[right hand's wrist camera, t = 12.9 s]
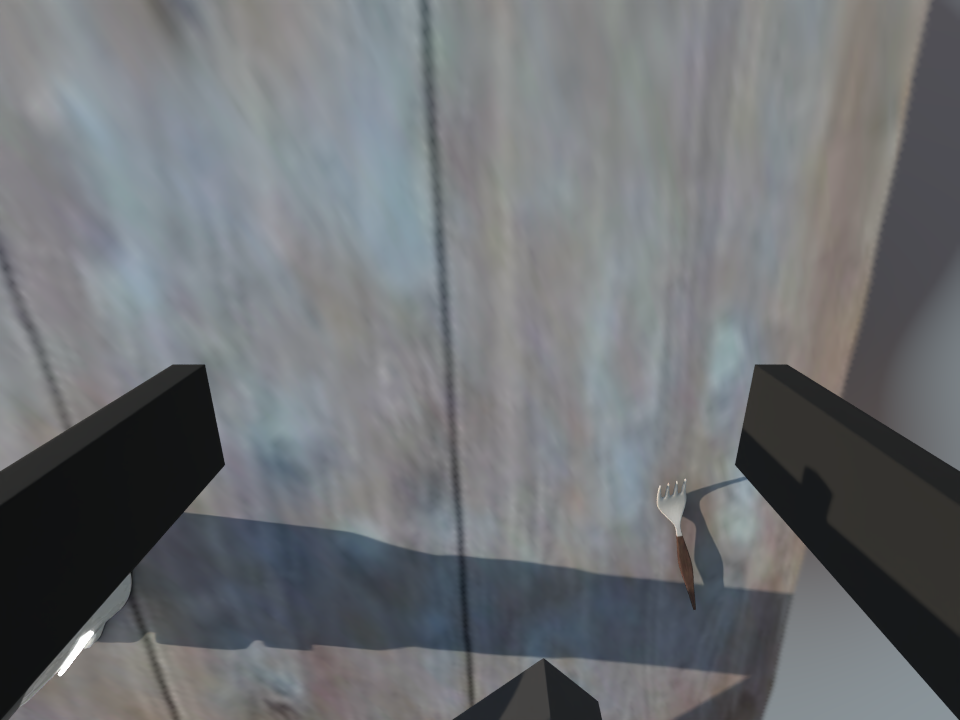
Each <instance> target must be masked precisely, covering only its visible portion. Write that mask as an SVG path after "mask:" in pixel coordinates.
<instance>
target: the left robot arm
mask: <svg viewBox="0 0 960 720" xmlns="http://www.w3.org/2000/svg"><path fill="white" fill-rule="evenodd" d="M131 584H132V579H131V572H130V574H129V575H128V576H127V577H126V578H125V579H124V580H123V582H122V583H121V584H120V585H119V586H118V587H117V588H116V590H115V591H114V592H113V593H112V594H111V595H110V596H109V597H108V599H107V600H106V601H105V602H104V603H103V604H102V605H101V607H100V608H99V609H98V610H97V611H96V612H95V613H94V615H93V616H92V617H91V618H90V619H89V620H88V621H87V623H86V624H85V625H84V626H83V627H82V628H81V629H80V630H79V632H78V633H77V634H76V635H75V636H74V637H73V638H72V640H71V641H70V642H69V643H68V644H67V645H66V646H65V648H64V649H63V650H62V651H61V652H60V653H59V654H58V656H57V657H56V658H55V659H54V660H53V661H52V662H51V664H50V665H49V666H48V667H47V668H46V669H45V670H44V671H43V673H42V674H41V675H40V676H39V677H38V678H37V679H36V681H35V682H34V683H33V684H32V685H31V686H30V687H29V689H28V690H27V691H26V692H25V693H24V694H23V695H22V697H21V698H20V699H19V700H18V701H17V702H16V703H15V704H14V706H13V707H12V708H11V709H10V710H9V711H8V712H7V714H6V715H5V716H4V717H3V718H2V719H1V720H9V719H10V717H11V716H12V715H13V714H14V713H15V712H16V710H17V709H18V708H19V707H20V706H22V705H24V704H25V703H26V702H28V701H29V700H30V699H31V698H32V697H33V696H34V695H35V694H36V693H37V692H38V691H39V690H40V689H41V688H42V687H43V686H44V685H45V684H46V683H47V682H48V681H49V680H50V679H51V678H52V677H53V676H54V675H55V674H56V673H57V672H58V671H59V670H60V669H61V668H62V667H63V666H64V667H63V668H62V669H61V671H60V672H59V674H58V675H60V676H61V675H62V674H63V673H64V672H65V670H66V669H67V668H68V667H69V666H70V664H71V663H72V662H73V660H74V659H75V658H76V656H77V655H78V653H79V652H80V651H81V649H87V648H89V647H91V646H92V645H93V644H94V643H95V642H96V641H97V640H98V639H99V637H100V636H101V634H102V631H103V628H104V625H105V623H106V622H107V621H108V620H109V619H110V618H111V617H113V616H114V615H115V614H116V613H117V612H118V611H120V610H121V608H122V607H123V606H124V605H125V603H126V602H127V600H128V598H129V595H130V592H131Z"/></svg>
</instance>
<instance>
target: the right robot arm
mask: <svg viewBox="0 0 960 720" xmlns="http://www.w3.org/2000/svg"><path fill="white" fill-rule="evenodd" d="M224 465H225V463H224V458H223V453H222V448H221V443H220V438H219V433H218V428H217V423H216V418H215V413H214V408H213V403H212V398H211V393H210V388H209V383H208V378H207V373H206V368H205V365H171V366H170V367H168V368H167V369H165V370H163V371H162V372H160V373H158V374H157V375H155V376H154V377H152V378H150V379H149V380H147V381H145V382H144V383H142V384H141V385H139V386H137V387H136V388H134V389H133V390H131V391H129V392H128V393H126V394H124V395H123V396H121V397H120V398H118V399H116V400H115V401H113V402H112V403H110V404H108V405H107V406H105V407H103V408H102V409H100V410H99V411H97V412H95V413H94V414H92V415H91V416H89V417H87V418H86V419H84V420H82V421H81V422H79V423H78V424H76V425H74V426H73V427H71V428H70V429H68V430H66V431H65V432H63V433H61V434H60V435H58V436H57V437H55V438H53V439H52V440H50V441H49V442H47V443H45V444H44V445H42V446H40V447H39V448H37V449H36V450H34V451H32V452H31V453H29V454H28V455H26V456H24V457H23V458H21V459H19V460H18V461H16V462H15V463H13V464H11V465H10V466H8V467H7V468H5V469H3V470H2V471H0V720H1V719H2V718H3V717H4V716H5V715H6V714H7V712H8V711H9V710H10V709H11V708H12V707H13V706H14V704H15V703H16V702H17V701H18V700H19V699H20V698H21V697H22V695H23V694H24V693H25V692H26V691H27V690H28V689H29V687H30V686H31V685H32V684H33V683H34V682H35V681H36V679H37V678H38V677H39V676H40V675H41V674H42V673H43V671H44V670H45V669H46V668H47V667H48V666H49V665H50V664H51V662H52V661H53V660H54V659H55V658H56V657H57V656H58V654H59V653H60V652H61V651H62V650H63V649H64V648H65V646H66V645H67V644H68V643H69V642H70V641H71V640H72V638H73V637H74V636H75V635H76V634H77V633H78V632H79V630H80V629H81V628H82V627H83V626H84V625H85V624H86V623H87V621H88V620H89V619H90V618H91V617H92V616H93V615H94V613H95V612H96V611H97V610H98V609H99V608H100V607H101V605H102V604H103V603H104V602H105V601H106V600H107V599H108V597H109V596H110V595H111V594H112V593H113V592H114V591H115V590H116V588H117V587H118V586H119V585H120V584H121V583H122V582H123V580H124V579H125V578H126V577H127V576H128V575H129V574H130V572H131V571H132V570H133V569H134V568H135V567H136V566H137V564H138V563H139V562H140V561H141V560H142V559H143V558H144V556H145V555H146V554H147V553H148V552H149V551H150V550H151V549H152V547H153V546H154V545H155V544H156V543H157V542H158V541H159V539H160V538H161V537H162V536H163V535H164V534H165V533H166V531H167V530H168V529H169V528H170V527H171V526H172V525H173V523H174V522H175V521H176V520H177V519H178V518H179V517H180V515H181V514H182V513H183V512H184V511H185V510H186V509H187V508H188V506H189V505H190V504H191V503H192V502H193V501H194V500H195V498H196V497H197V496H198V495H199V494H200V493H201V492H202V490H203V489H204V488H205V487H206V486H207V485H208V484H209V482H210V481H211V480H212V479H213V478H214V477H215V476H216V475H217V473H218V472H219V471H220V470H221V469H222V468H223V467H224ZM735 465H736V467H737V468H738V469H739V470H740V471H741V472H742V473H743V475H744V476H745V477H746V478H747V479H748V480H749V481H750V482H751V484H752V485H753V486H754V487H755V488H756V489H757V490H758V492H759V493H760V494H761V495H762V496H763V497H764V498H765V500H766V501H767V502H768V503H769V504H770V505H771V506H772V508H773V509H774V510H775V511H776V512H777V513H778V514H779V515H780V517H781V518H782V519H783V520H784V521H785V522H786V523H787V525H788V526H789V527H790V528H791V529H792V530H793V531H794V533H795V534H796V535H797V536H798V537H799V538H800V539H801V541H802V542H803V543H804V544H805V545H806V546H807V547H808V549H809V550H810V551H811V552H812V553H813V554H814V555H815V556H816V558H817V559H818V560H819V561H820V562H821V563H822V564H823V566H824V567H825V568H826V569H827V570H828V571H829V572H830V574H831V575H832V576H833V577H834V578H835V579H836V580H837V582H838V583H839V584H840V585H841V586H842V587H843V588H844V590H845V591H846V592H847V593H848V594H849V595H850V596H851V597H852V599H853V600H854V601H855V602H856V603H857V604H858V605H859V607H860V608H861V609H862V610H863V611H864V612H865V613H866V614H867V616H868V617H869V618H870V619H871V620H872V621H873V623H874V624H875V625H876V626H877V627H878V628H879V629H880V630H881V632H882V633H883V634H884V635H885V636H886V637H887V638H888V639H889V641H890V642H891V643H892V644H893V645H894V646H895V647H896V649H897V650H898V651H899V652H900V653H901V654H902V656H903V657H904V658H905V659H906V660H907V661H908V662H909V664H910V665H911V666H912V667H913V668H914V669H915V670H916V671H917V673H918V674H919V675H920V676H921V677H922V678H923V679H924V681H925V682H926V683H927V684H928V685H929V686H930V687H931V689H932V690H933V691H934V692H935V693H936V694H937V695H938V697H939V698H940V699H941V700H942V701H943V702H944V703H945V705H946V706H947V707H948V708H949V709H950V710H951V711H952V712H953V714H954V715H955V716H956V717H957V718H958V719H959V720H960V471H958V470H957V469H955V468H953V467H952V466H950V465H949V464H947V463H945V462H944V461H942V460H941V459H939V458H937V457H936V456H934V455H932V454H931V453H929V452H928V451H926V450H924V449H923V448H921V447H920V446H918V445H916V444H915V443H913V442H911V441H910V440H908V439H907V438H905V437H903V436H902V435H900V434H898V433H897V432H895V431H894V430H892V429H890V428H889V427H887V426H886V425H884V424H882V423H881V422H879V421H877V420H876V419H874V418H873V417H871V416H869V415H868V414H866V413H865V412H863V411H861V410H860V409H858V408H857V407H855V406H853V405H852V404H850V403H848V402H847V401H845V400H844V399H842V398H840V397H839V396H837V395H836V394H834V393H832V392H831V391H829V390H827V389H826V388H824V387H823V386H821V385H819V384H818V383H816V382H815V381H813V380H811V379H810V378H808V377H806V376H805V375H803V374H802V373H800V372H798V371H797V370H795V369H793V368H792V367H790V366H789V365H755V368H754V373H753V378H752V383H751V388H750V393H749V398H748V403H747V408H746V413H745V418H744V423H743V428H742V433H741V438H740V443H739V448H738V453H737V458H736V463H735Z"/></svg>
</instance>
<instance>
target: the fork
mask: <svg viewBox="0 0 960 720" xmlns="http://www.w3.org/2000/svg"><path fill="white" fill-rule="evenodd" d="M677 488H678V482H677V481H676V484H675V487H674V492H673V494H672V495H670V494H669V483H668V485H667V489H666V493H665V496H664V497H662V496H661V485H659V490H658V495H657V506H658V508H659V510H660V511H661V512H662V513H663V514H664V515H665V516H666V517H667V518H668V519H669V520H670V521H671V522H672V523H673V524H674V526H675V528H676V537H677V554H678V563H679V568H680V571H681V574H682V577H683V579H684V582H685V585H686V588H687V591H688V594H689V597H690V600H691V603H692V607H693V609H694V610H696V605H695V594H694V580H693V568H692V563H691V559H690V556H689V553H688V550H687V547H686V544H685V542H684V539H683V536H682V533H681V529H680V522H681V518H682V515H683V512H684V508H685V505H686V479H685V480H684V483H683V486H682V490H681V493H678V491H677Z"/></svg>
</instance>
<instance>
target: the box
mask: <svg viewBox="0 0 960 720" xmlns="http://www.w3.org/2000/svg"><path fill="white" fill-rule="evenodd" d="M453 720H602V717H601V713H600V708H599V703H598V701H597V700H596V699H594V698H593V697H592V696H591V695H589V694H588V693H587V692H586V691H584V690H583V689H582V688H581V687H579V686H578V685H577V684H576V683H574V682H573V681H572V680H570V679H569V678H568V677H567V676H565V675H564V674H563V673H562V672H560V671H559V670H558V669H557V668H555V667H554V666H553V665H552V664H550V663H549V662H548V661H547V660H545V659H544V658H543V659H542V660H540V661H539V662H537V663H536V664H534V665H533V666H531V667H530V668H528V669H527V670H525V671H524V672H522V673H521V674H520V675H518V676H517V677H515V678H514V679H512V680H511V681H509V682H508V683H506V684H505V685H503V686H502V687H500V688H499V689H497V690H496V691H494V692H493V693H491V694H490V695H488V696H487V697H486V698H484V699H483V700H481V701H480V702H478V703H477V704H475V705H474V706H472V707H471V708H469V709H468V710H466V711H465V712H463V713H462V714H460V715H459V716H457V717H456V718H454V719H453Z"/></svg>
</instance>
